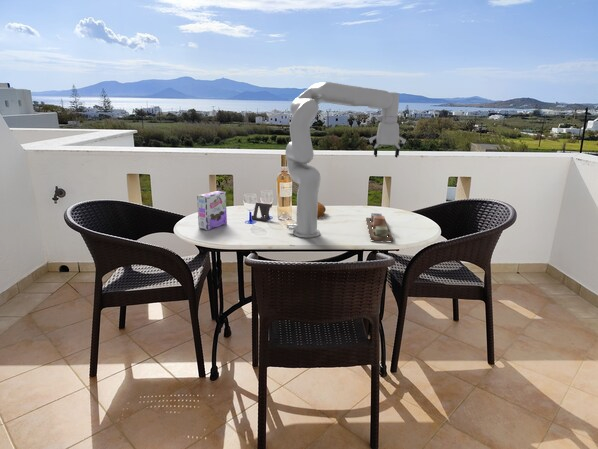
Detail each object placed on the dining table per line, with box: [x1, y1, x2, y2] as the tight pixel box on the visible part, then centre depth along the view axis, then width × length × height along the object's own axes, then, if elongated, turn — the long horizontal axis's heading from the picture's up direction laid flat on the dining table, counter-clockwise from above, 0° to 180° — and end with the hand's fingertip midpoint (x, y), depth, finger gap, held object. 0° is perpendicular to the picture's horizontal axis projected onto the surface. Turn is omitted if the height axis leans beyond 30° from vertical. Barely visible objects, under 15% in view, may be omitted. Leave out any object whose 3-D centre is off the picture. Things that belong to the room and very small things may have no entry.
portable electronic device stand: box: [250, 201, 273, 222], centre depth 205 cm, size 9×8×8 cm
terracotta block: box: [373, 215, 386, 229], centre depth 188 cm, size 5×5×7 cm
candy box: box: [196, 190, 228, 231], centre depth 189 cm, size 14×6×16 cm, turn 147°
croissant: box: [317, 201, 326, 219], centre depth 215 cm, size 14×16×8 cm
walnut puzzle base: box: [365, 212, 394, 242], centre depth 189 cm, size 10×32×5 cm, turn 175°
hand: (385, 156), depth 189 cm, fingers open, 9 cm apart
